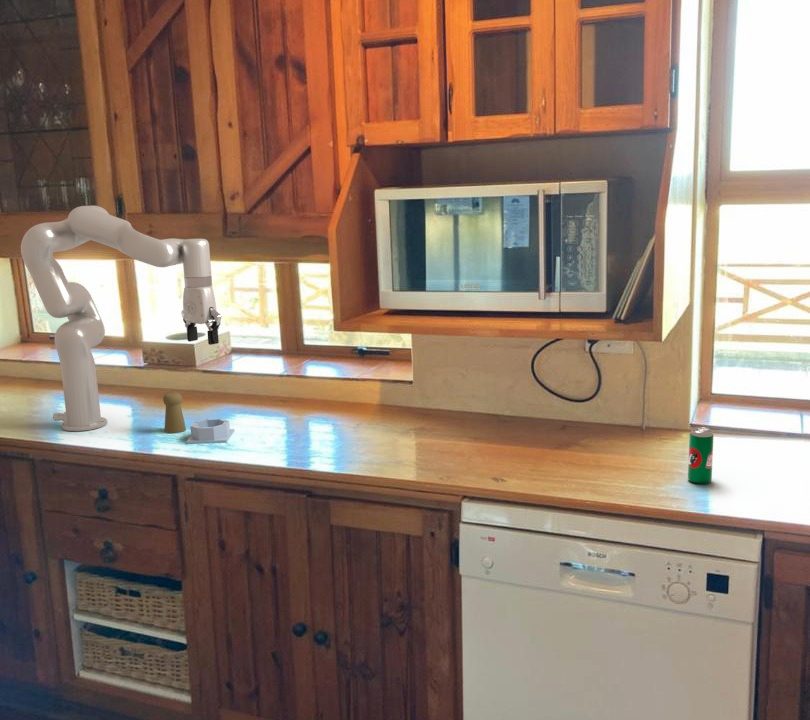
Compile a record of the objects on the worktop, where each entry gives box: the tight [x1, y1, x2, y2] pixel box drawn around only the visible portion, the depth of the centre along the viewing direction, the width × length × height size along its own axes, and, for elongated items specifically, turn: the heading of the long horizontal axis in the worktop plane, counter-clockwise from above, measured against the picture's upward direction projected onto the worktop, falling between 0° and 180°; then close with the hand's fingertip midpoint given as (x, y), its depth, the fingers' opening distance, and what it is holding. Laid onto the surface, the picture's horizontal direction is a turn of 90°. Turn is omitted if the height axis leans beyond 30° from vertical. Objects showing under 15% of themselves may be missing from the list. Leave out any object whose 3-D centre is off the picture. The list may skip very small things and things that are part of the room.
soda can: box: [687, 426, 714, 485], centre depth 191 cm, size 5×5×12 cm
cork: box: [162, 392, 187, 435], centre depth 245 cm, size 6×6×11 cm
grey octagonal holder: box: [185, 418, 235, 445], centre depth 238 cm, size 11×11×4 cm
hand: (203, 342), depth 246 cm, fingers open, 9 cm apart
